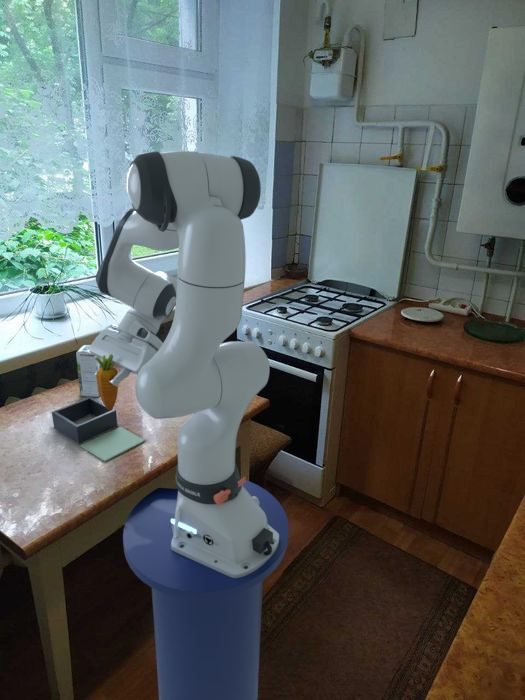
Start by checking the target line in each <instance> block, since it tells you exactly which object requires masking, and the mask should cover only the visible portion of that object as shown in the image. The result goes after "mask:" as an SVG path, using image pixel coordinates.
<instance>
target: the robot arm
mask: <svg viewBox="0 0 525 700" xmlns="http://www.w3.org/2000/svg"><path fill="white" fill-rule="evenodd" d="M261 186H262V185H261V179H260V175H259V173H258V170H257V169H256V167H255V164H253V163H252V162H251V161H250V160H248V159H246V158H242V157H239V156H235V155H229V156H226V155H220V154H215V153H214V154H213V153H205V152H204V153H203V152H198V151H194V150H193V151H191V150H190V151H189V150H188V151H187V150H185V151H184V150H183V151H165V152H160V151H158V150H153V151H147V152H141V153H139V154H136V155H135V156H134V157H133V159H132V160H131V161H130V164H129V168H128V173H127V178H126V191H127V195H128V198H129V201H130V203H131V206H132V207H130V208H129V209H128V210H127V211H126V212H125V213H124V214H123V215H122V217H121V218H120V220H119V221H118V223H117V225H116V227H115V229H114V232H113V235H112V237H111V240H110V243H109V245H108V247H107V250H106V253H105V255H104V258H103V259H102V262H101V264H100V265H99V267H98V268H97V270H96V271H97V272H96V274H95V282H96V285H97V287H98V290H99V292H100V293H102V294H104V295H106V296H108V297H111V298H112V299H115V300H117V301H119V302H121V303H123V304H125V305H126V306H127V307H128V306H129V307H130V308H129V309H128V310H127V311H126V313H125V314H124V316H123V317H122V319H121V321H120V322H119V323H118V325H117V324H115V323H113V324H111V325H108V326H106V327H105V328H104V329H102V330H101V331H100V332H99V333H98V334H97V336H96V337H95V338H94V340H93V341H92V343H91V344H89V345H90V349H89V351H90V352H91V353H92V354H94V355H95V356H97V357H99V358H100V360H101V362H102V363H103V356H104V355H105V358H107V360H108V357H109V355H110V354H112V355H113V358H112V361H113V362H114V363H113V364H112V365H115V366H117V367H119V370H118V371H119V372H118V374H117V375H116V376H115V377H114V376H112V378H111V380H110V381H109V383H111V384H112V385H114V386H118V387H119V386H120V383H121V382H122V381H123V380H125V379H126V378H128V377H129V376H130V374H131V373H132V374H134V375H136V378H135V383H134V392H135V393H134V394H135V398H136V400H137V403H138V404H139V406H140V408H141V409H142V410H143V412H145V413H146V414H147V415H148V416H150V417H151V418H153V419H155V420H160V419H174V418H175V419H176V418H183V417H187V416H189V415H191V416H190V417H189V418H188V419H187V420H185V422H184V423H183V424H182V426H181V427H180V429H179V431H178V434H177V437H176V443H177V444H176V446H177V464H176V469H175V482H176V483H175V485H176V489H178V497H177V504H176V512H175V517H174V519H171V523H172V532H173V538H172V541H171V549H172V550H173V551H174V552H176V553H179V554H181V555H183V556H185V557H187V558H190V559H192V560H194V561H196V562H198V563H201V564H203V565H205V566H207V567H209V568H212V569H214V570H216V571H218V572H220V573H223V574H225V575H227V576H229V577H232V578H240V577H243V576H246V575H248V574H250V573H252V572H254V571H255V570H257V569H258V568H260V567H261V566H262V565H263V564H264V563H265V562H266V561H267V560H268V559H269V558H270V557H271V556H272V555H273V554H274V552H275V551H276V549H277V547H278V544H279V534H278V533H277V532H276V531H275V530H274V529H273V528H272V527H270V526H269V525H268V523H267V517H266V514H265V512H264V511H263V510H262V509H261V507H260V506H259V504H260V503H259V500H258V498H257V497H256V496H253V497H252V496H251V495H250V494H249V493H248V492H247V490H246V489H245V488H244V487H243V486H242V484H244V483H245V482H246V481H247V477H246V476H244V477H243V478H241V476H240V475H241V474H240V472H239V469H238V466H237V463H236V449H237V437H238V433H239V429H240V427H241V423H242V420H243V418H244V416H245V414H246V412H247V411H248V408H249V406H250V405H251V403H252V401H253V400H254V399H255V398H256V396H257V395H258V394H259V393H260V392H261V391H262V390H263V389H264V388H265V387H266V385H267V384H268V381H269V379H270V371H271V367H270V362H269V358H268V355H267V354H266V352H265V351H264V350H263V348H262V347H261V346H260V345H258V343H256V342H254V341H225V340H227V338H229V337H230V336H231V335H232V334H233V333H234V332H235V331H236V330H237V329H238V327H239V325H240V323H241V321H242V317H243V305H244V292H245V282H246V279H245V278H246V265H247V264H246V263H247V261H246V260H247V259H246V258H247V257H246V241H245V231H244V230H245V229H244V224H243V221H242V220H244V219H247V218H249V217H251V216H252V215H253V214H254V213H255V212H256V210H257V208H258V205H259V203H260V199H261V193H262V190H261V189H262V187H261ZM133 246H138V247H143V248H146V249H150V250H153V251H156V252H157V251H159V252H166V251H167V252H168V251H173V250H177V249H178V254H177V265H176V267H177V268H176V278H175V277H174V276H173V275H171V274H170V273H167V272H166V271H156V272H153V271H152V270H150V269H148V268H146V267H144V266H143V265H141V264H139V263H137V262H136V261H135V260H133V259H132V258H131V256H129V255H130V253H131V252H132V249H133ZM173 310H174V315H173V319H172V323H171V327H170V329H169V332H168V334H167V335H166V337H165V339H164V341H162V340H161V339H160V338H159V337H158V336H157V334H158V332H159V331H160V327H161V324H162V323H163V322H164V320H165V319H168V318H169V317H170V316H171V314H172V312H173ZM224 341H225V342H224ZM100 368H102V367H101V365H100V364H99V362H98V368H97V371H98V370H99V369H100ZM97 371H96V372H95V374H94V375H95V376H96V374H97ZM244 480H245V481H244ZM182 547H183V548H182ZM245 568H247V569H245Z"/></svg>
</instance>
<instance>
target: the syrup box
mask: <svg viewBox="0 0 525 700" xmlns="http://www.w3.org/2000/svg"><path fill="white" fill-rule="evenodd" d="M90 345H91V344H84V345H82V346H81V347H80V348H79V349H78V350H77V351H76V353H75V357H76V367H77V375H78V387H79V396H80V397H92V398H94V397H97V398H100V394H99V391H98V385H97V378H96V376H95V375H94V374H95V372H96V371H97V368H98V361H97V360H96V359H95V358H96V357H97V356H95V355H94V354H92V353H91V352H90V351H89V349H90ZM98 358H99V357H98ZM99 359H100V358H99Z"/></svg>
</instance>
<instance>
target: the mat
mask: <svg viewBox="0 0 525 700" xmlns="http://www.w3.org/2000/svg"><path fill="white" fill-rule="evenodd" d="M144 442H146V441H145V439H144V438H142V437H140V436H139V435H137V434H135V433H133V432H131V431H129V430H128V429H127V428H125V427H122V426H119V427H116V428H114V429H111V430H109V431H107V433H106V432H105V433H103V434H101V435H99V436H96V437H94V438H92V439H90V440H88V441H86V442H84V443H83V444H82V443H81V445H80V448H82V449H84V450H86V451H87V452H88V453H90V454H92V455H93V456H95V457H96V458H98V459H100V460H101V461H103V462H104V463H105V462H107V461H110V460H112V459H113V458H115V457H118V456H120V455H121V454H123V453H125V452H127V451H129V450H132V449H133V448H135V447H136V446H139V445H141V444H143V443H144Z"/></svg>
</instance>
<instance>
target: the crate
mask: <svg viewBox="0 0 525 700" xmlns="http://www.w3.org/2000/svg"><path fill="white" fill-rule="evenodd" d="M91 415H92V416H94V417H93V418H91V419H88V420H86V421H83V422H82V423H79V424H77V423H75V422H76V421H80V420H82V419H84V418H86V417H88V416H91ZM51 416H52V424H53V429H54V430H56V432H57V431H58V433H60V434H62V435H64V436H65V437H67V438H68V439H69V440H72V441H73V442H75V443H76V444H78V445H80V444H81V445H82V443H83V444H84V443H86V442H88V441H90V440H92V439H95V438H97V437H99V436H101V435H103V434H105V433H106V432H107V433H108V432H110V431H112V430H114V429H116V428H118V419H117V410H116V409H115V408H113V409H112V410H111V411H109V410H108V409H107V408H106V407H105V405H104V404H103V402H102V401H100V400H98V399H96V398H94V397H91V396H87V397H86V398H84V399H81V400H78V401H76V402H73V403H71V404H69V405H66V406H63V407H60V408H58V409H56V410H53V411H51Z"/></svg>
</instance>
